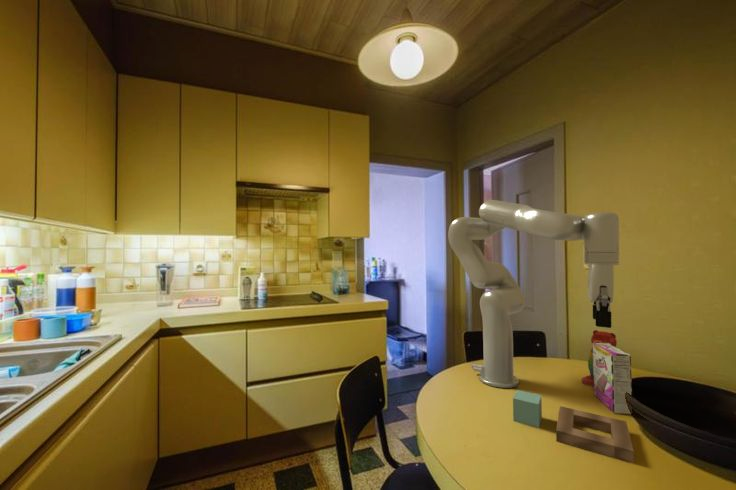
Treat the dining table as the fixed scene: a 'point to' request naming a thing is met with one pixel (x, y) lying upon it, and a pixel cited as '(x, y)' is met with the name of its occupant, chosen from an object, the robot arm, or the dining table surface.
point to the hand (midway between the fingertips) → (601, 323)
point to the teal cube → (527, 408)
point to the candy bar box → (612, 376)
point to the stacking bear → (596, 338)
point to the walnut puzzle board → (604, 445)
